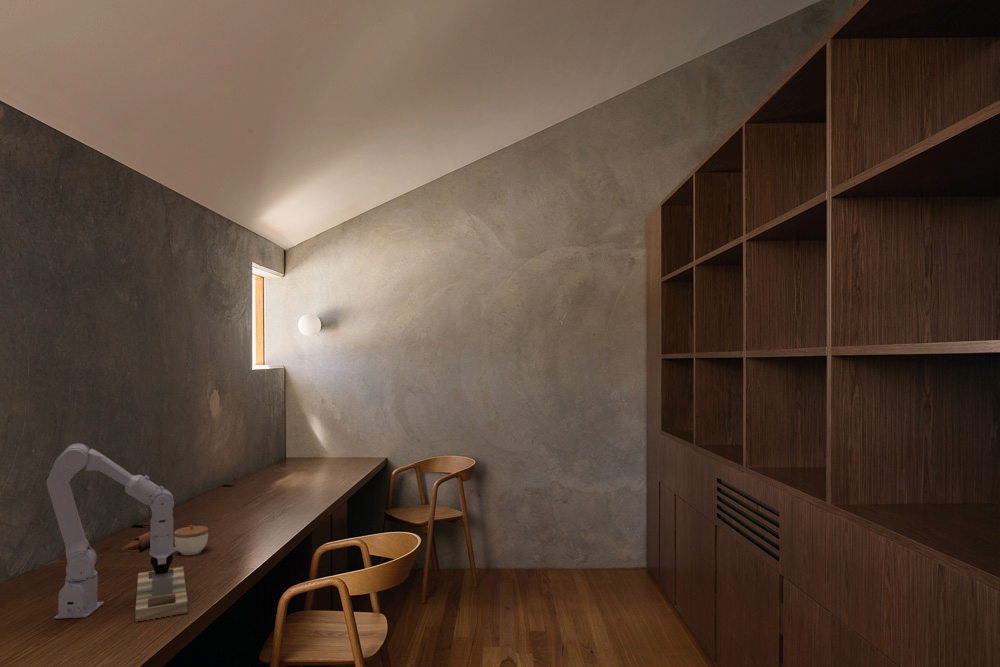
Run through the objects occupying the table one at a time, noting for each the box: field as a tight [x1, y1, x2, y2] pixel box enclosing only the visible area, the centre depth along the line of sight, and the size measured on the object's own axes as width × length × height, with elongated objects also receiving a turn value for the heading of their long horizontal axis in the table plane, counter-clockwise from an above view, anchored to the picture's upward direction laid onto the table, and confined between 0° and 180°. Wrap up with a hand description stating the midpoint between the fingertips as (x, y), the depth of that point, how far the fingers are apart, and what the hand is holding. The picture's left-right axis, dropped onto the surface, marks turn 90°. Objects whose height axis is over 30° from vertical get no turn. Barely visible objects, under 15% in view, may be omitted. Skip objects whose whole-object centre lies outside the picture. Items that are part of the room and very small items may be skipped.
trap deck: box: [134, 565, 189, 623], centre depth 182 cm, size 32×12×3 cm, turn 28°
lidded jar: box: [173, 524, 209, 556], centre depth 223 cm, size 11×11×9 cm
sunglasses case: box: [120, 530, 151, 551], centre depth 232 cm, size 18×7×7 cm
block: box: [152, 572, 173, 596], centre depth 179 cm, size 5×5×4 cm
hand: (161, 582), depth 182 cm, fingers closed
